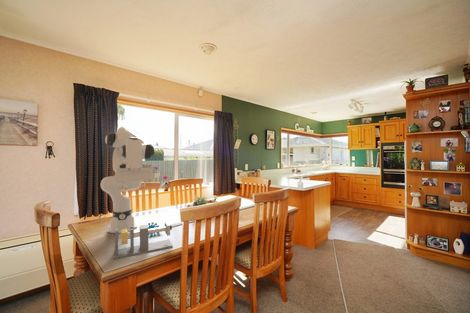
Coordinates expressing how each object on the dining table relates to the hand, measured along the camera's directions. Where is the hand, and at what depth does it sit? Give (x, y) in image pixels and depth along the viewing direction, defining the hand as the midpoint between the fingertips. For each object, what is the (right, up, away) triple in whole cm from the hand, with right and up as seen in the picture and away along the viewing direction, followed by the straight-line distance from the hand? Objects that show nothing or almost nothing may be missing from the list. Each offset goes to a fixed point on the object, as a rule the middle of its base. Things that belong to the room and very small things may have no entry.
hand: (134, 189), depth 121 cm
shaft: (+7, -28, 0) cm, 28 cm away
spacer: (-3, -29, -5) cm, 29 cm away
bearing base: (+6, -35, 0) cm, 35 cm away
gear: (+2, -35, +21) cm, 40 cm away
